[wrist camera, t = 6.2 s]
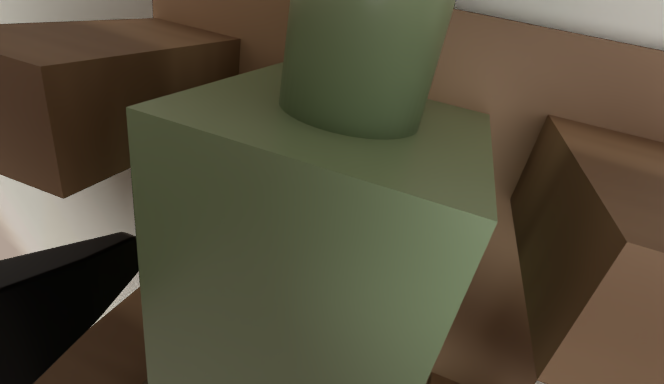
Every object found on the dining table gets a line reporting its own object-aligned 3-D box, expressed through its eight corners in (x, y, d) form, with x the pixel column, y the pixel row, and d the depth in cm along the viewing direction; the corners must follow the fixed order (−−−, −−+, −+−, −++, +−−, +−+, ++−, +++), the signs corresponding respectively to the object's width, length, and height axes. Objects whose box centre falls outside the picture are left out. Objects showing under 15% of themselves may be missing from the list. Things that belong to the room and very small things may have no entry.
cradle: (477, 442, 14) (474, 705, 9) (182, 316, 16) (44, 461, 11) (711, 60, 8) (1202, 177, 2) (178, -47, 10) (-136, -101, 5)
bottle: (380, 404, 13) (334, 588, 9) (251, 348, 14) (156, 491, 10) (602, -188, 6) (865, -605, 2) (312, -213, 7) (76, -520, 3)
